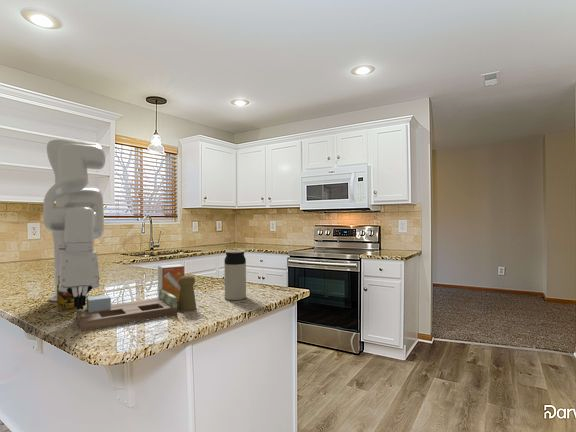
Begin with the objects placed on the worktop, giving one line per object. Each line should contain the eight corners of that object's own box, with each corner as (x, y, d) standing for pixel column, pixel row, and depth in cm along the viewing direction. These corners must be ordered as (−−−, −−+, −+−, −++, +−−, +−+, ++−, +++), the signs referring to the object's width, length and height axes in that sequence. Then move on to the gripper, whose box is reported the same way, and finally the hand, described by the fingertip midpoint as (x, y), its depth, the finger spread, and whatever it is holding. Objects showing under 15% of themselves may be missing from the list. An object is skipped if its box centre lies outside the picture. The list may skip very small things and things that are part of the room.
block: (86, 308, 109) (86, 297, 109) (108, 305, 113) (108, 294, 112) (88, 312, 105) (88, 300, 105) (110, 308, 108) (110, 297, 108)
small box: (162, 304, 123) (161, 267, 123) (157, 300, 129) (157, 265, 129) (185, 301, 128) (184, 265, 128) (179, 298, 133) (179, 263, 133)
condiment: (66, 314, 112) (66, 276, 112) (46, 312, 115) (46, 275, 115) (85, 308, 119) (85, 273, 119) (66, 306, 122) (66, 272, 122)
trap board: (76, 317, 108) (76, 299, 108) (162, 304, 123) (162, 288, 123) (81, 331, 95) (81, 310, 95) (176, 314, 110) (176, 297, 110)
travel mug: (232, 301, 127) (231, 252, 127) (220, 297, 133) (220, 250, 133) (250, 298, 132) (249, 250, 132) (238, 294, 138) (238, 249, 138)
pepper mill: (199, 307, 119) (199, 275, 119) (189, 312, 114) (189, 278, 113) (184, 305, 121) (184, 274, 121) (173, 310, 115) (173, 277, 115)
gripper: (49, 250, 98) (50, 315, 98) (108, 247, 107) (109, 307, 107) (49, 248, 105) (49, 310, 105) (105, 245, 113) (105, 302, 113)
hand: (79, 308), depth 106 cm, fingers closed
